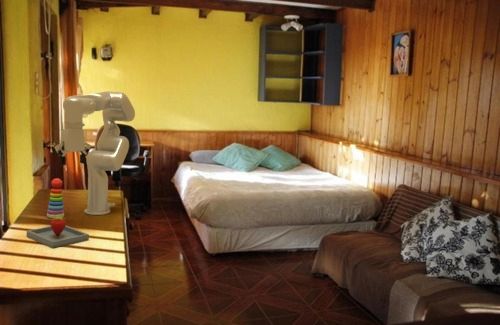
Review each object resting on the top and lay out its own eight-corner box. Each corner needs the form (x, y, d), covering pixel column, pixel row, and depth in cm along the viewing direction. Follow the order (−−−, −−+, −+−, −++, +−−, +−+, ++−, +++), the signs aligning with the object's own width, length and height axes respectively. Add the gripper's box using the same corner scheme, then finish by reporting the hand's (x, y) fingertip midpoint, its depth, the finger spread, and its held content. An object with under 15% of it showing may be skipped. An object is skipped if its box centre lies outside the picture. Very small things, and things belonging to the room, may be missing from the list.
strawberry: (65, 233, 203) (66, 210, 202) (65, 238, 196) (65, 215, 195) (50, 233, 201) (50, 210, 200) (50, 239, 194) (50, 215, 193)
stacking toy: (58, 219, 225) (58, 180, 223) (43, 217, 227) (43, 179, 224) (67, 215, 233) (68, 178, 230) (53, 213, 234) (53, 176, 232)
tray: (61, 229, 211) (61, 223, 210) (88, 240, 199) (88, 234, 199) (26, 236, 198) (26, 230, 198) (53, 248, 186) (53, 242, 186)
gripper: (85, 125, 221) (84, 161, 223) (50, 125, 207) (50, 164, 209) (95, 126, 216) (94, 163, 219) (60, 127, 203) (59, 166, 205)
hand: (73, 164), depth 214 cm, fingers open, 9 cm apart
